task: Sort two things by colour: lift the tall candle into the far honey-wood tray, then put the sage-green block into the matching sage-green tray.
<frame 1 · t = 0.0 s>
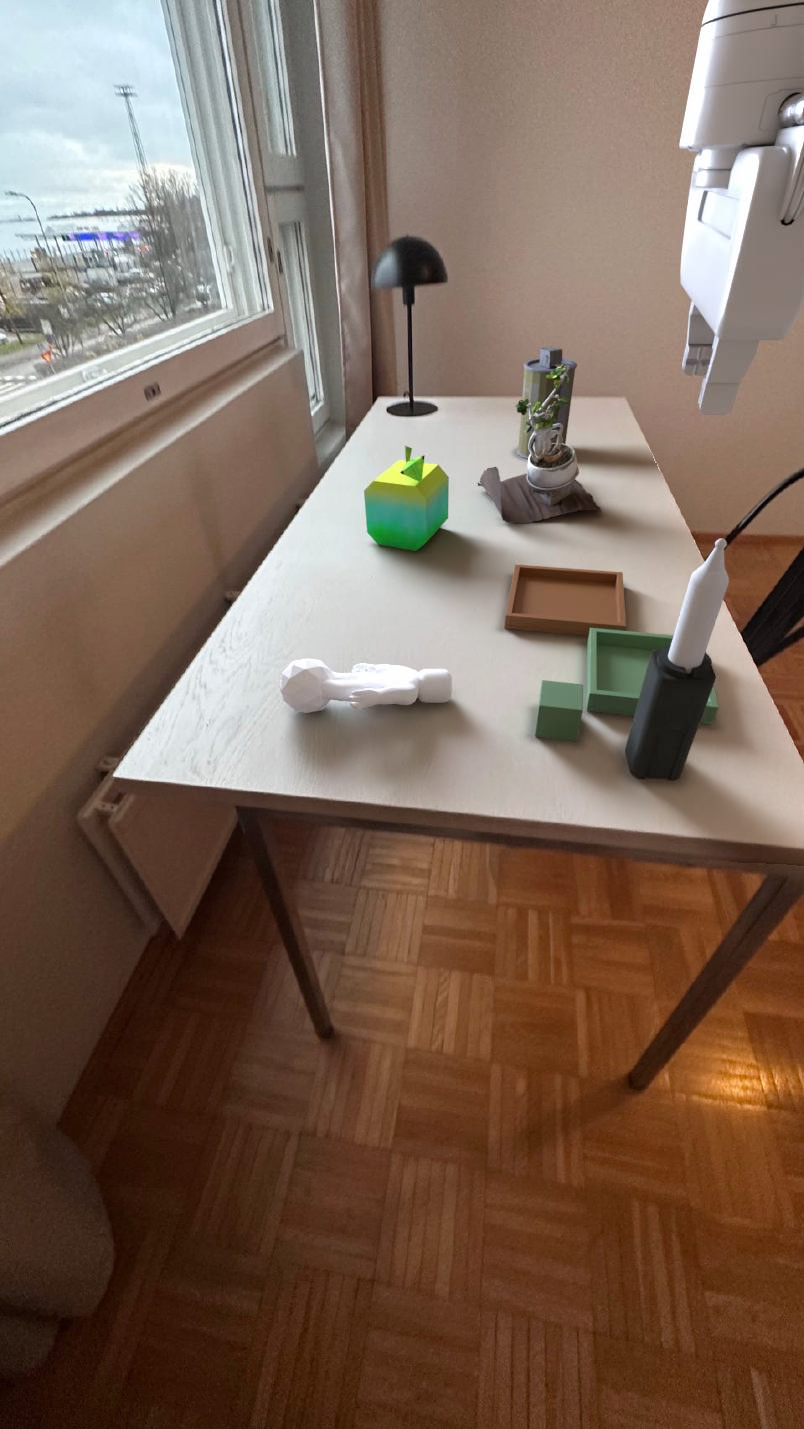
hand: (702, 391, 42), 36 cm above the table, tool pointing down, fingers open, 8 cm apart
figure: (368, 704, 75), on the table
green tray: (644, 681, 76), on the table
wood tray: (564, 605, 90), on the table
green block: (556, 725, 71), on the table
canister: (541, 454, 137), on the table
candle: (651, 763, 66), on the table
low-poly cube fruit: (408, 536, 109), on the table
potted plant: (532, 503, 118), on the table
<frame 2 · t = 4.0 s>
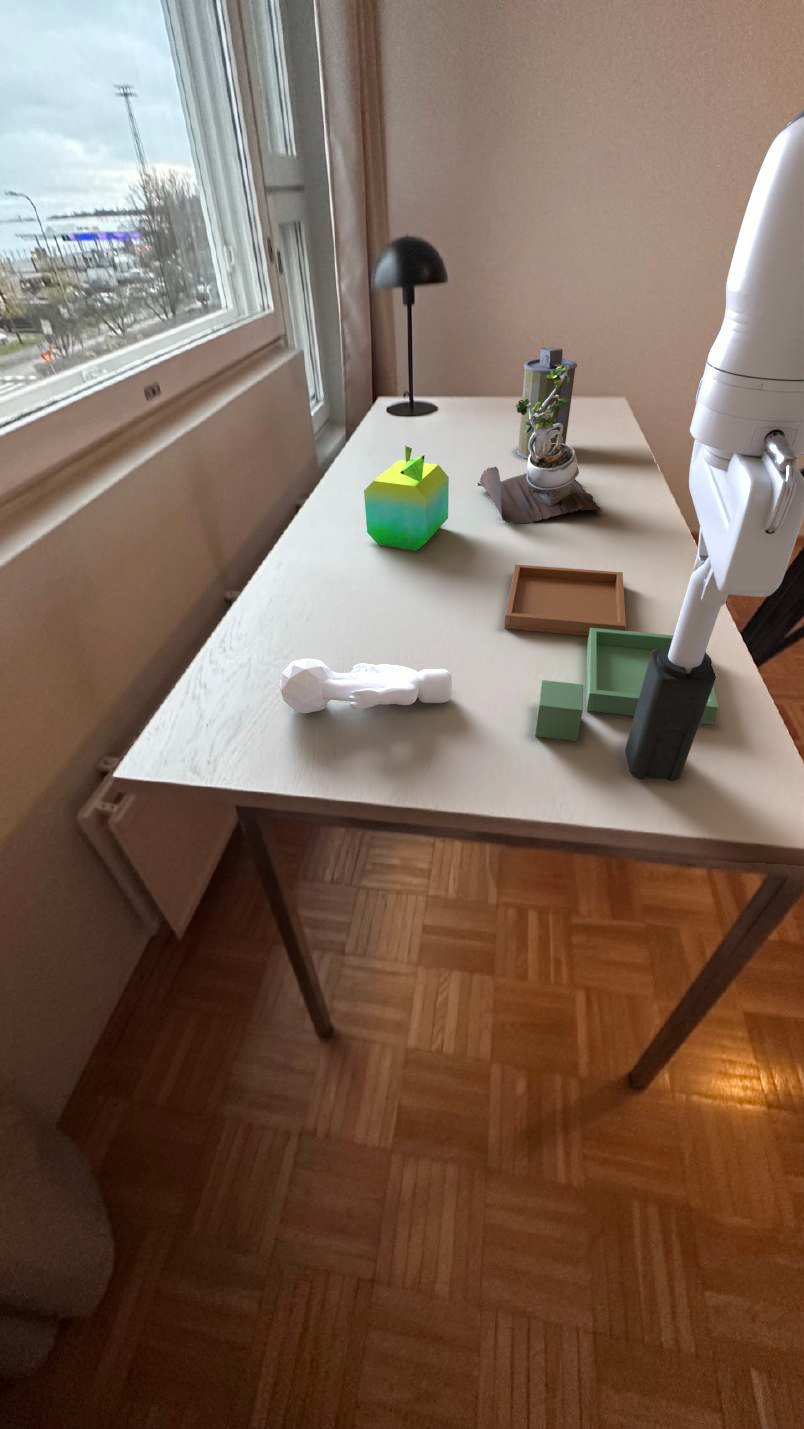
hand: (707, 588, 53), 21 cm above the table, tool pointing down, fingers closed on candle, 3 cm apart
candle: (651, 763, 66), on the table, touching gripper
everything else where it was.
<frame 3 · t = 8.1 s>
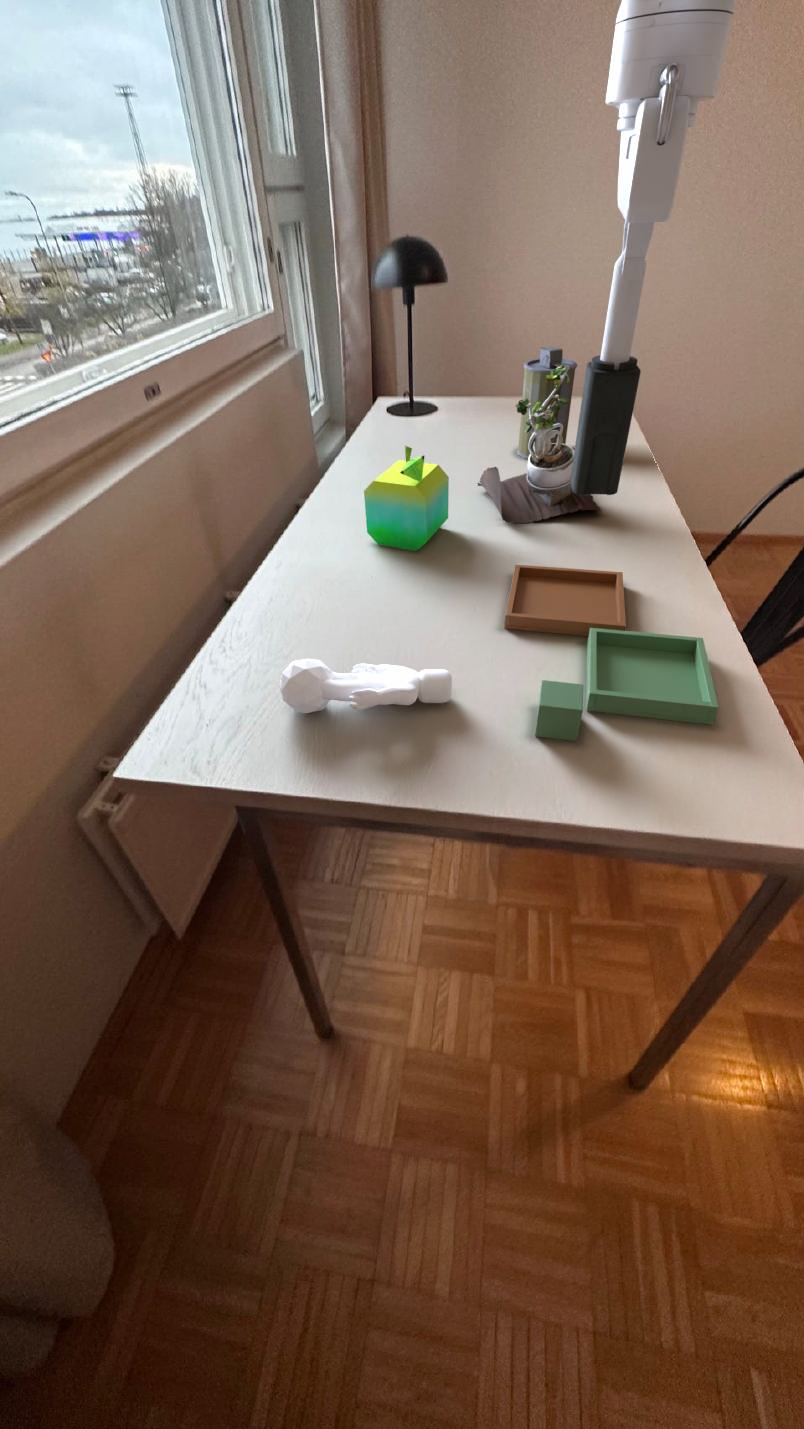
hand: (629, 276, 61), 39 cm above the table, tool pointing down, fingers closed on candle, 3 cm apart
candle: (592, 488, 75), point 19 cm above the table, touching gripper
everything else where it was.
when the fingers open (21 cm above the table, at t = 12.6 s): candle stays where it is, resting on wood tray.
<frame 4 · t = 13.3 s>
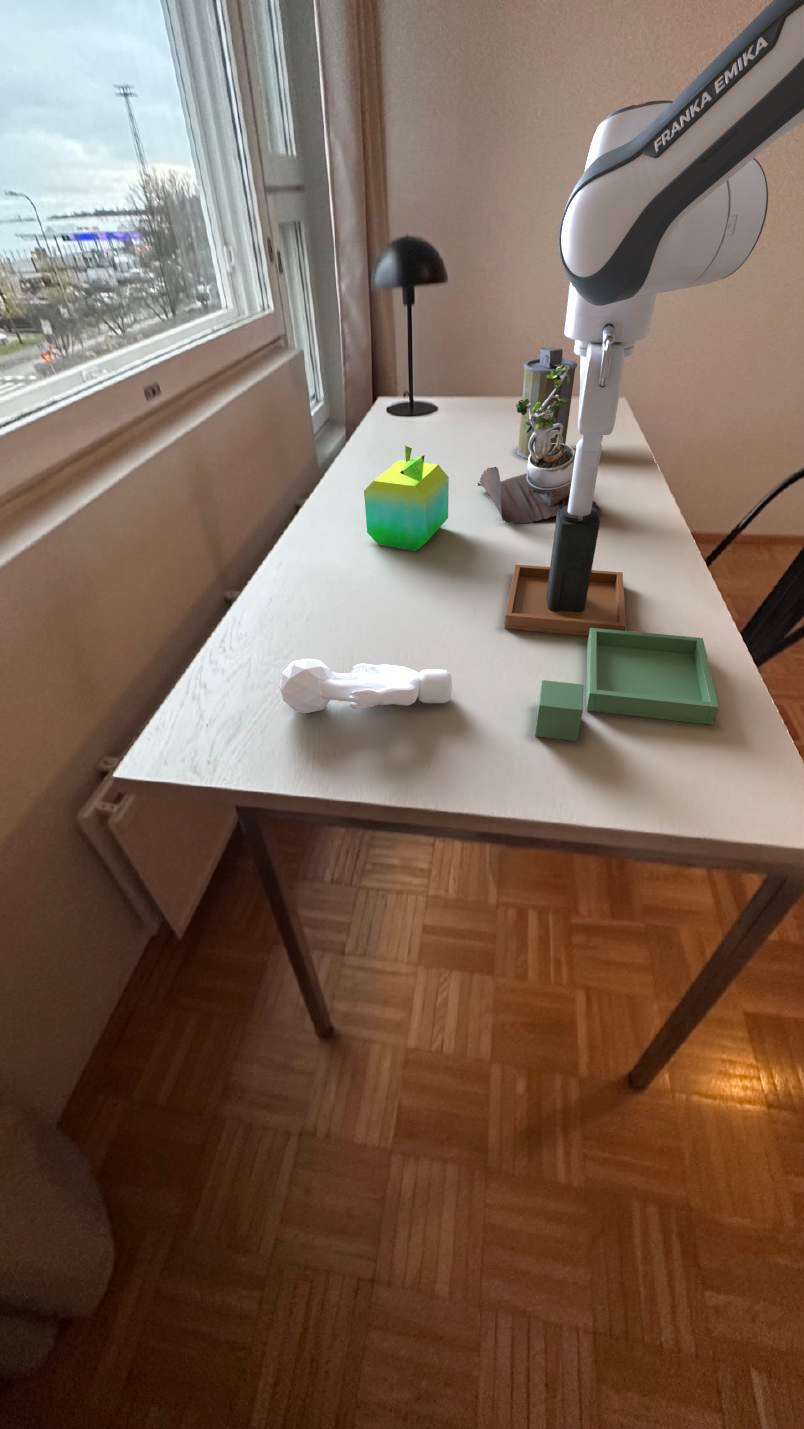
hand: (588, 450, 76), 22 cm above the table, tool pointing down, fingers open, 8 cm apart
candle: (564, 603, 90), resting on wood tray
everything else where it was.
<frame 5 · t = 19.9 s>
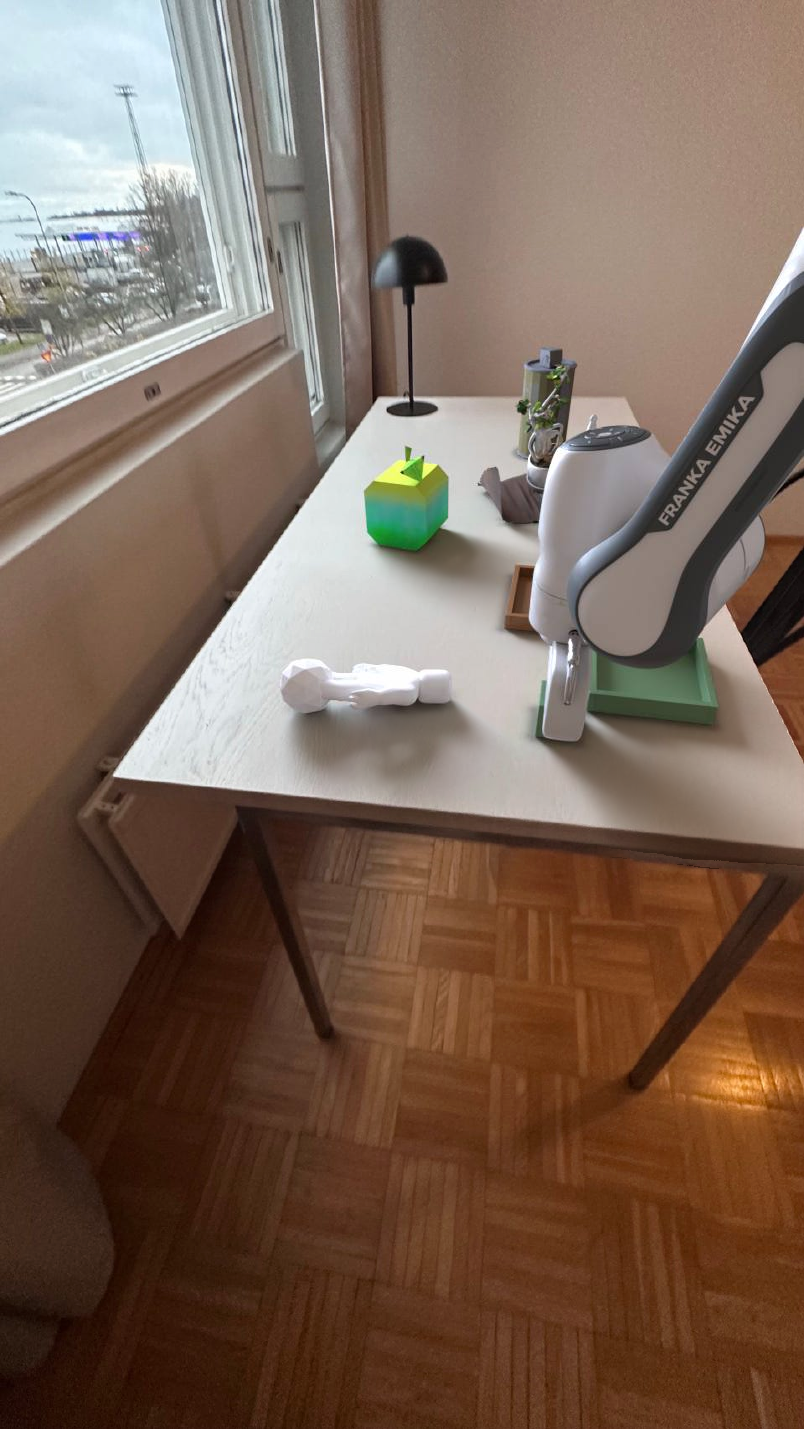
hand: (558, 713, 70), 2 cm above the table, tool pointing down, fingers closed on green block, 4 cm apart
green block: (556, 725, 71), on the table, touching gripper
everything else where it was.
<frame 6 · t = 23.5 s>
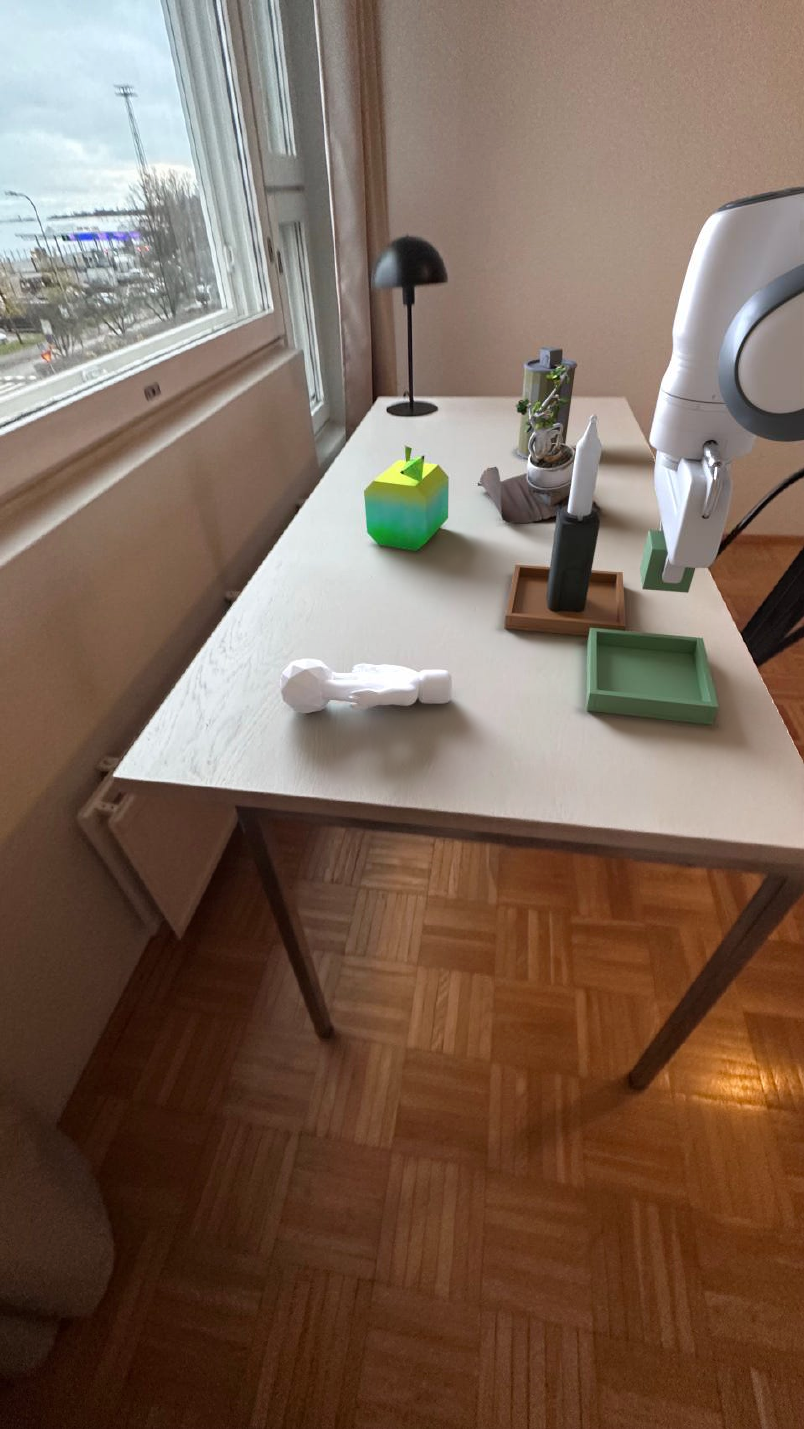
hand: (667, 565, 65), 16 cm above the table, tool pointing down, fingers closed on green block, 4 cm apart
green block: (663, 580, 66), point 14 cm above the table, touching gripper
everything else where it was.
when the fingers open (2 cm above the table, at t = 27.0 s): green block stays where it is, resting on green tray.
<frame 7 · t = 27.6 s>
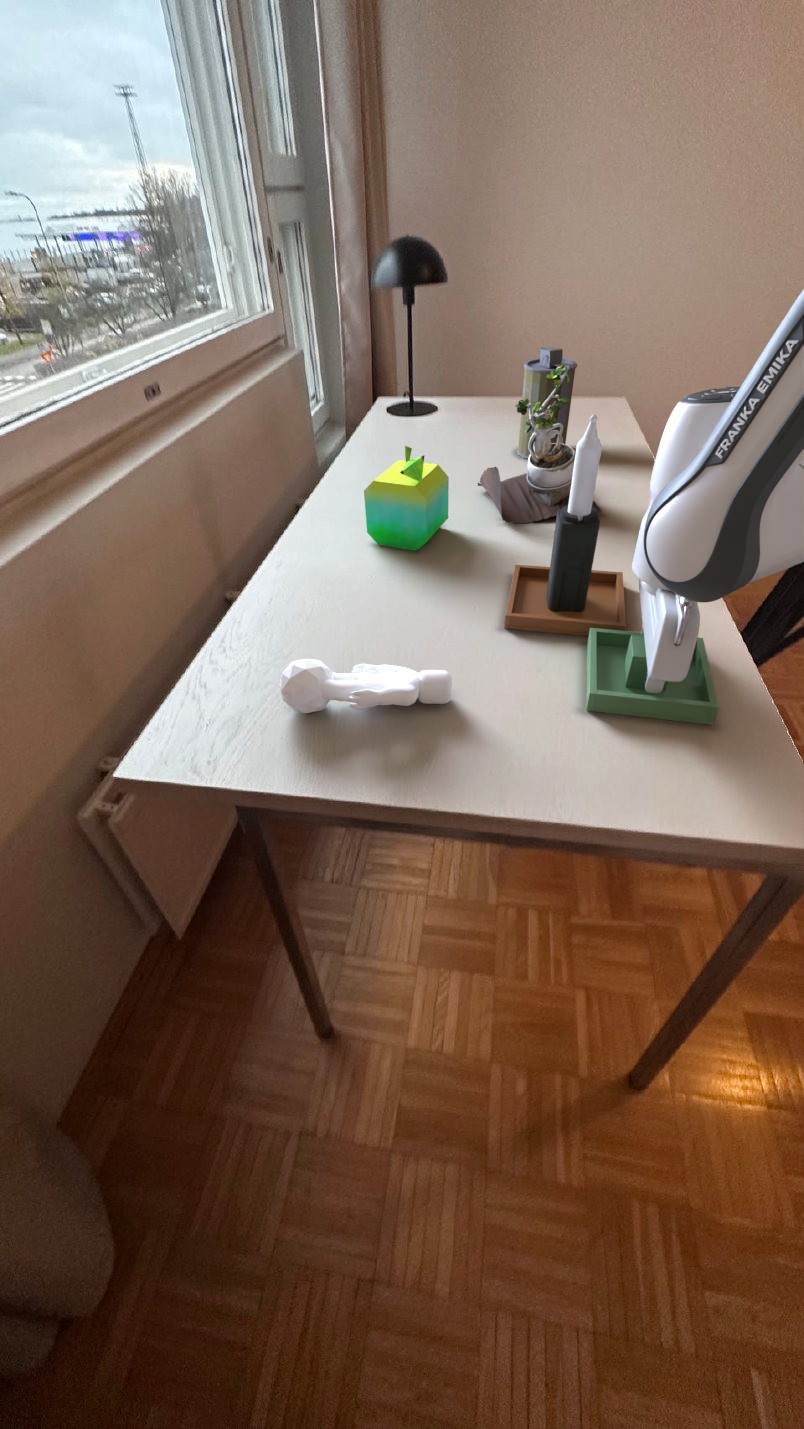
hand: (649, 664, 75), 3 cm above the table, tool pointing down, fingers open, 8 cm apart
green block: (643, 677, 76), point 1 cm above the table, touching green tray
everything else where it was.
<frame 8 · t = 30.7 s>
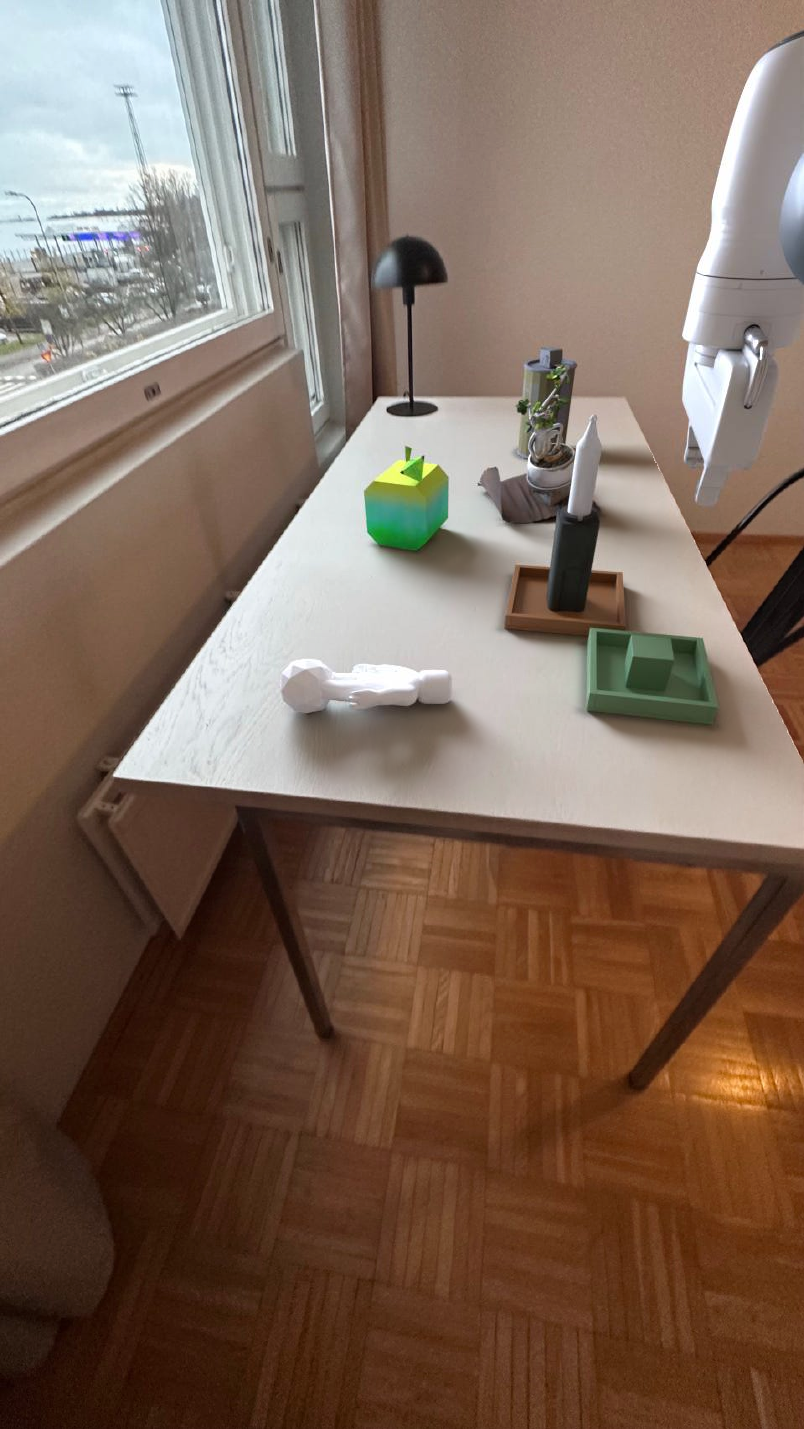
hand: (698, 483, 61), 24 cm above the table, tool pointing down, fingers open, 8 cm apart
nothing on the table moved.
at the end: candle inside the target area in the wood tray (0.2 cm from its centre), point 0.4 cm above the wood tray's base; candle tilted 0°; green block inside the target area in the green tray (0.2 cm from its centre), point 0.6 cm above the green tray's base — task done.
